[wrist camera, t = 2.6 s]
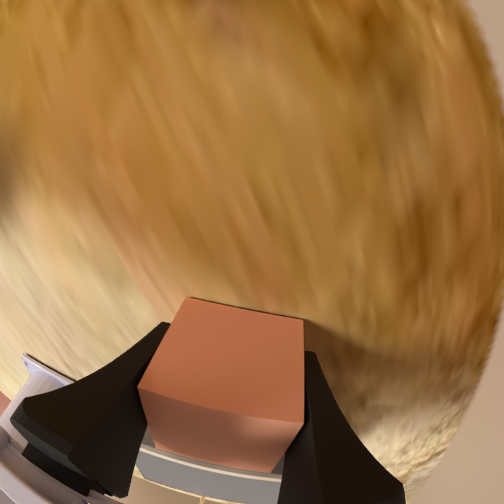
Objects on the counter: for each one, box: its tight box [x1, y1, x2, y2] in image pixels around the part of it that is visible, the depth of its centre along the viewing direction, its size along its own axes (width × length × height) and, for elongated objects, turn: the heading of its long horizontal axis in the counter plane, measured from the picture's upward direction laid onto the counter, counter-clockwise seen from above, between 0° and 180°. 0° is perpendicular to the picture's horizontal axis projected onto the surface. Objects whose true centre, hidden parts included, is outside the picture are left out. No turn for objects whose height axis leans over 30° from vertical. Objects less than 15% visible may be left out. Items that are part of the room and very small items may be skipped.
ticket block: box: [135, 426, 285, 504], centre depth 13 cm, size 8×9×5 cm
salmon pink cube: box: [138, 297, 304, 473], centre depth 10 cm, size 5×5×5 cm
